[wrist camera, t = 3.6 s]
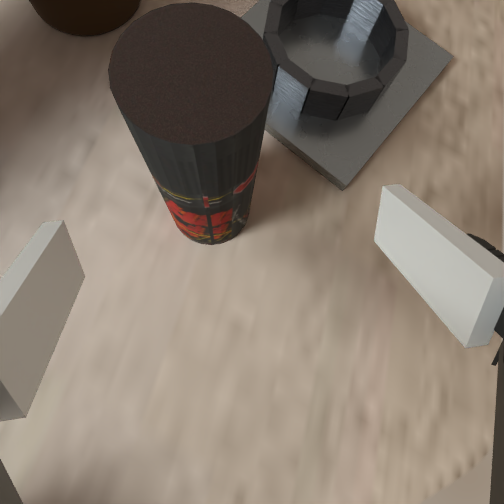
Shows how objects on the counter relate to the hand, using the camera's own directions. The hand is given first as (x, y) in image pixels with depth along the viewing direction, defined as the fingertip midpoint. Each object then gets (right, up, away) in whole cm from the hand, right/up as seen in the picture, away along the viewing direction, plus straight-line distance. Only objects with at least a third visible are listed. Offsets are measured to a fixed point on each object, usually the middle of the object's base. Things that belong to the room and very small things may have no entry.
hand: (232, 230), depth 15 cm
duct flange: (+7, +15, +16) cm, 23 cm away
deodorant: (-2, +3, +13) cm, 13 cm away
